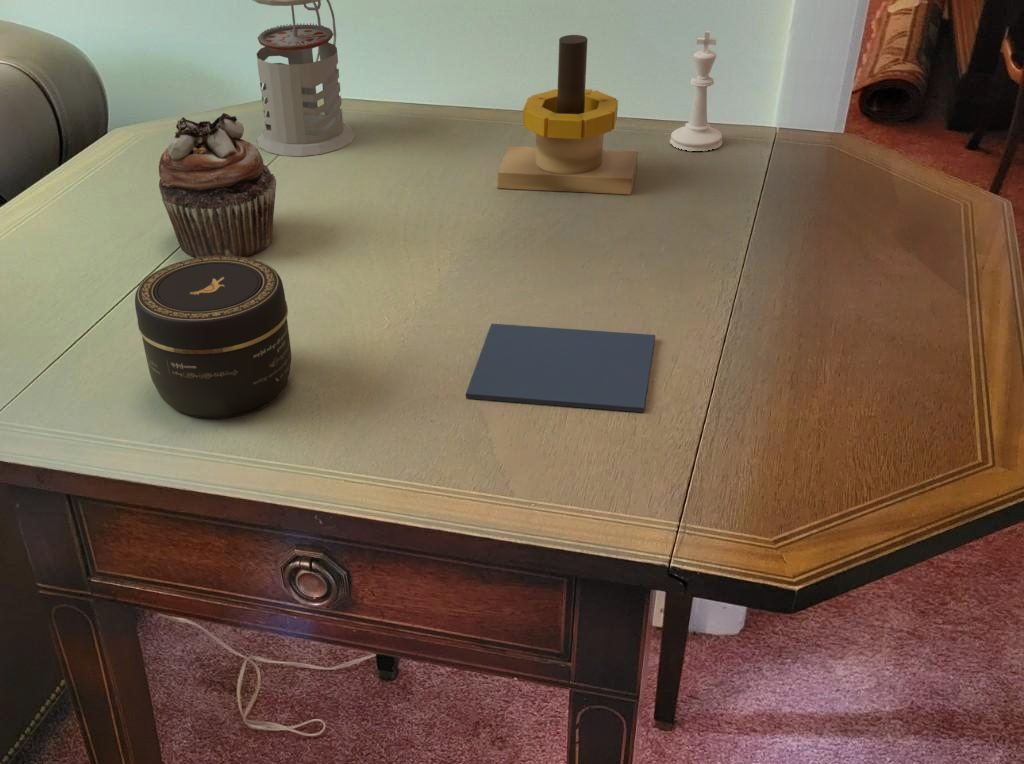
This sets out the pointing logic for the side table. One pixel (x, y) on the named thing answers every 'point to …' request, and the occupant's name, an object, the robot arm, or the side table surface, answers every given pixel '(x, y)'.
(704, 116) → the chess piece
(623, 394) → the mat
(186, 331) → the jar
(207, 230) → the cupcake
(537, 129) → the ring
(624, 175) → the stand
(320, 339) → the side table surface
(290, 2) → the french press
